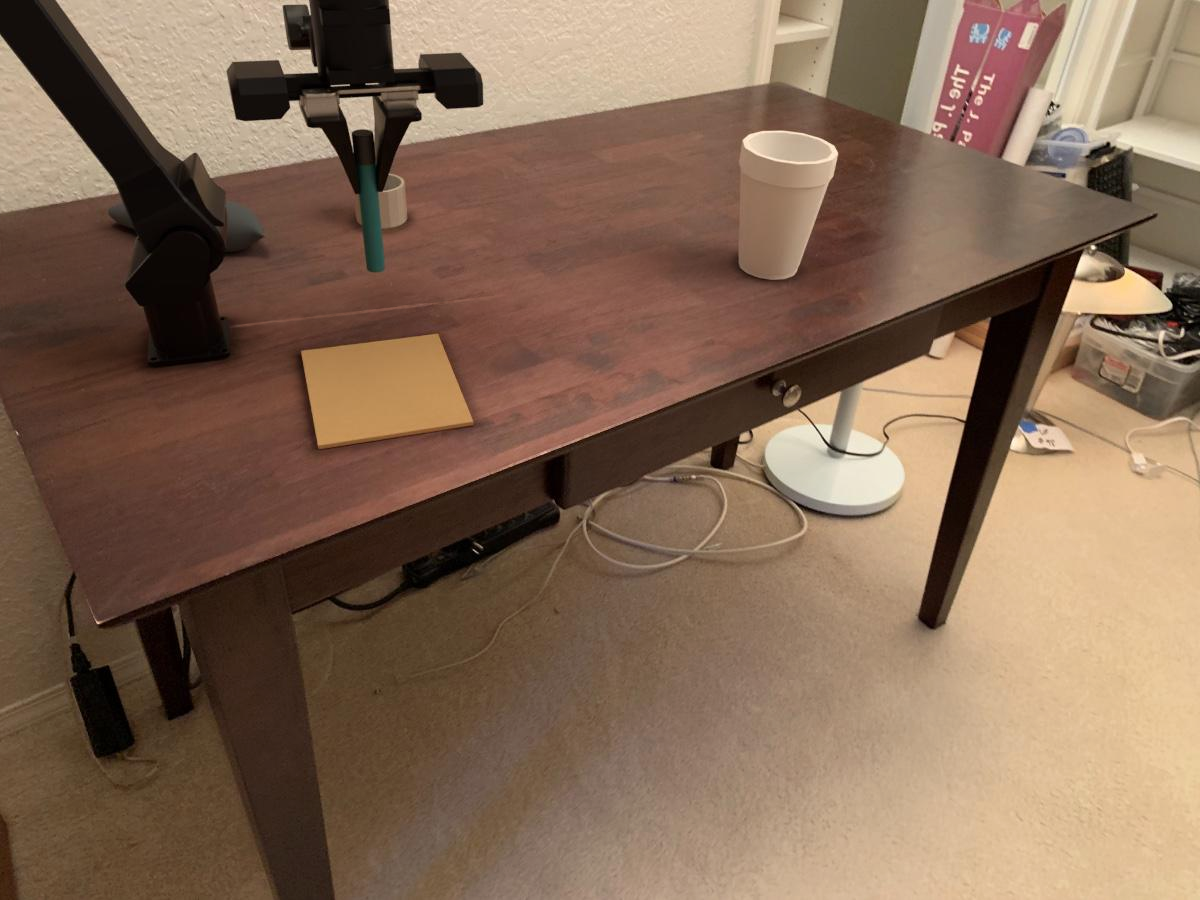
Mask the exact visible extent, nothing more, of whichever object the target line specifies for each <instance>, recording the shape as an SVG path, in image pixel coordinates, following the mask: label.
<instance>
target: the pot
mask: <svg viewBox="0 0 1200 900" xmlns="http://www.w3.org/2000/svg"><path fill="white" fill-rule="evenodd" d="M406 194H407V193H406V182H405V180H404V178H403V177H401V176H399V175H397V174H393V173H390V172H389V175H388V178H387V181H386V184H385V187H384V190H383V192H378V195H379V206H380V217H381V228H382V230H383V229H384V230H385V229H386V230H387V229H392V228H396V227H399V226H402V225H403V224H405V223H406V222H407V220H408V208H407V207H408V206H407V195H406ZM352 196H353V203H354V204H353V205H354V214H355V220H356V223H358V224H359V225H360V226H362V221H361V211H360V202H359V194H355V193H354V190H353V189H352Z"/></svg>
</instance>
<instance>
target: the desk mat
mask: <svg viewBox="0 0 1200 900" xmlns="http://www.w3.org/2000/svg"><path fill="white" fill-rule="evenodd" d="M300 355H301V360H302V365H303V371H304V375H305V376H304V377H305V381H306V382H305V383H306V389H307V394H308V400H309V405H310V410H311V416H312V421H313V427H314V432H315V438H316V444H317V448H318V450H324V449H329V448H337V447H343V446H348V445H356V444H362V443H368V442H375V441H381V440H389V439H393V438H401V437H407V436H413V435H414V436H415V435H420V434H426V433H433V432H439V431H447V430H452V429H459V428H463V427H464V428H465V427H470V426H471V427H472V426H474V419H473V417H472V414H471V412H470V410H469V407H468V405H467V402H466V400H465V397H464V395H463V392H462V390H461V387H460V385H459V383H458V380H457V378H456V376H455V373H454V371H453V367H452V365H451V363H450V360H449V358H448V354H447V353H446V350H445V348H444V346H443V343H442V340H441V339H440V336H439V333H432V334H425V335H416V336H408V337H401V338H400V337H399V338H392V339H385V340H375V341H369V342H359V343H352V344H347V345H346V344H343V345H337V346H330V347H329V346H328V347H320V348H313V349H304V350H301V351H300Z"/></svg>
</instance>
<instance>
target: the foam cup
mask: <svg viewBox="0 0 1200 900" xmlns="http://www.w3.org/2000/svg"><path fill="white" fill-rule="evenodd" d="M740 146H741V148H740V154H739V160H738V165H739V168H740V178H739V179H740V185H739V220H738V221H739V223H738V266H739V268H740V269H741V270H742V271H743V272H745V273H746V274H748V275H750V276H752V277H754V278H755V277H756V278H759V279H764V280H769V281H778V280H786V279H788V278H792V277H794V276H795V275H796V273H797V272H798V269H799V267H800V264H801V262H802V259H803V257H804V253H805V251H806V248H807V245H808V242H809V240H810V237H811V234H812V231H813V228H814V226H815V223H816V220H817V218H818V214H819V211H820V209H821V206H822V204H823V200H824V197H825V195H826V192H827V189H828V187H829V184H830V182H831V180H832V179H833V177H834V175H835V171H836V166H837V161H838V157H839V152H838V149H836V146H835V145H834V144H833V143H830V142H829V141H826V140H825V139H823V138H821V137H818V136H814V135H810V134H807V133H803V132H796V131H789V130H761V131H756V132H754V133H749V134H748V135H746V136H745V137H744V138H743V139H742V140H741V145H740Z"/></svg>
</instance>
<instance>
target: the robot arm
mask: <svg viewBox="0 0 1200 900" xmlns="http://www.w3.org/2000/svg"><path fill="white" fill-rule="evenodd" d="M308 3H309V6H308V5H307V4H283V5H282V14H283V21H284V28H285V29H284V30H285V33H286V34H285V36H286V41H287V46H288V50H289V51H309V50H310V55H311V63H312V65H313V67H314V68H317V72H304V73H303V72H302V73H301V72H300V73H284V71H283V67H282V66H281V63H280V60H279V59H271V60H270V59H269V60H246V61H243V60H242V61H232V62H231V63H230V65H229V66H228V67H227V69H226V71H225V72H226V77H227V82H228V88H229V93H230V99H231V103H232V108H233V112H234V116H235V120H236V121H242V122H255V121H256V122H257V121H274V120H282V119H283V117H284V116H285V115H286V114H287V113H288V112H289V110H290V109H291V104H290V102H298V107H299V109H300V111H301V115H302V117H303V120H304V123H305V125H306V126H307V127H308V128H310V129H321V130H322V132H323V133H324V136H326V138H327V140H328V141H329V143H330V145H331V146H332V148H333V149H334V151H335V153H336V154H337V157H338V159H339V160H340V163H341V165H342V167H343V169H344V172H345V174H346V176H347V179H348V181H349V183H350V186H351V188H352V191H353V190H354V193H355V194H360V184H359V176H358V171H357V167H356V162H355V157H354V152H353V143H352V138H351V135H350V131H349V130H350V129H349V125H348V120H347V119H346V116H345V114H344V112H343V110H342V108H341V106H340V104H341V102H340V99H351V98H353V99H354V98H370V97H372V107H373V108H372V109H373V117H374V118H373V119H374V127H373V129H374V131H373V135H374V146H375V156H376V162H375V163H376V177H377V188H378V192H383V190H384V187H385V184H386V181H387V178H388V175H389V173H390V172H391V169H392V166H393V164H394V160H395V157H396V154H397V151H398V149H399V147H400V145H401V143H402V141H403V139H404V137H405V135H406V133H407V130H408V129H409V127H410V125H411V123H416V122H420V121H422V119H423V113H422V111H421V110H420V108H419V107H418V106H417V105H418V104H417V103H418V102H417V101H419V95H424V94H425V95H427V94H434V98H435V100H436V101H437V102H438V103H440V105H441V106H442V107H444V109H446V110H456V109H470V108H471V109H472V108H480V107H482V106H483V105H484V82H483V78H482V74H481V73H480V71H479V70H478V69H477V68H476V67H475V66H474V65H473V64H472V63H471V62H470V60H468V58H467V57H465V56H464V55H463V53H462V52H444V53H443V52H441V53H420V54H419V57H418V67H412V68H411V67H410V68H395V66H394V65H395V64H394V63H395V62H394V51H393V38H392V26H391V25H392V24H391V23H392V22H391V11H390V0H308ZM0 37H1V39H2V40H3V41H4V42H5V43H6V45H7V46H8V47H9V48H10V49H11V51H12V52H13V53H14V55H15V56H16V57H17V58H18V60H19V61H20V62H21V63H22V65H23V66H24V68H25V69H26V70H27V72H28V73H29V74H30V75H31V76H32V78H33V79H34V80H35V81H36V83H37V85H39V87H40V88H41V89H42V90H43V92H44V93H45V94H46V95H47V97H48V98H49V99H50V101H51V102H52V103H53V104H54V106H55V107H56V109H57V110H58V111H59V112H60V113H61V115H62V116H63V117H64V118H65V120H66V121H67V122H68V123H69V125H70V126H71V127H72V128H73V130H74V131H75V132H76V134H77V135H78V137H79V138H80V139H81V140H82V141H83V142H84V144H85V145H86V146H87V148H88V149H89V150H90V152H91V153H92V154H93V156H94V157H95V158H96V159H97V161H98V162H99V163H100V165H102V167H103V168H104V170H105V171H106V172H107V174H108V175H109V176H110V177H111V179H112V181H113V182H114V184H115V186H116V188H117V191H118V194H119V196H120V198H121V202H122V203H123V204H124V206H125V209H126V212H127V214H128V217H129V219H130V222H131V224H132V226H133V228H134V229H133V230H134V232H135V234H136V235H137V237H135V241H134V245H133V250H132V254H131V258H130V262H129V267H128V270H127V275H126V280H125V283H124V284H125V285H124V287H125V289H126V291H127V292H128V293H129V294H130V296H131V297H132V298H133V299H134V301H135V302H136V303H137V305H138V306H139V307H142V309H143V312H144V316H145V319H146V322H147V326H148V341H147V342H148V343H147V344H148V345H147V359H146V360H147V363H148V365H149V367H158V366H159V367H160V366H167V365H177V364H185V363H193V362H199V361H208V360H217V359H224V358H228V357H230V356H231V354H232V353H231V340H230V327H229V326H230V325H229V320H228V317H227V316H220V311H219V306H218V302H217V299H216V294H215V290H214V286H213V285H214V284H213V281H212V276H211V274H212V273H213V272H215V271H217V270H218V269H219V267H220V266H221V264H222V263H223V261H224V259H225V255H226V252H225V251H226V236H227V210H226V207H225V202H227V201H226V200H227V191H226V190H225V189H223V188H222V187H221V186H219V185H218V184H217V183H216V181H214V180H213V178H211V176H210V174H209V173H208V170H207V168H206V166H205V164H204V162H203V160H202V159H201V157H200V155H199V153H198V152H193V153H191V154H190V155H188V156H187V157H186V158H184V160H182V159H180V158H179V157H178V156H176V155H175V154H173V153H172V152H171V151H169V150H168V149H166V147H164V146H163V144H161V143H160V142H159V140H158V139H157V138H156V137H155V135H154V134H153V132H152V131H151V130H150V128H149V127H148V126H147V124H146V123H145V122H144V120H143V119H142V118H141V116H140V115H139V113H138V112H137V110H136V109H135V107H134V106H133V105H132V104H131V102H130V101H129V100H128V98H127V97H126V95H125V94H124V92H123V91H122V90H121V88H120V87H119V85H118V84H117V83H116V82H115V80H114V79H113V77H112V76H111V75H110V73H109V71H108V70H107V69H106V68H105V66H104V65H103V63H102V62H101V61H100V59H99V58H98V56H97V55H96V54H95V53H94V51H93V50H92V48H91V46H89V44H88V43H87V41H86V39H84V37H83V36H82V34H81V33H80V31H79V30H78V29H77V27H76V26H75V25H74V23H73V22H72V20H71V19H70V17H68V15H67V14H66V12H65V11H64V9H63V8H62V7H61V6H60V4H59V3H58V1H57V0H0Z"/></svg>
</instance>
